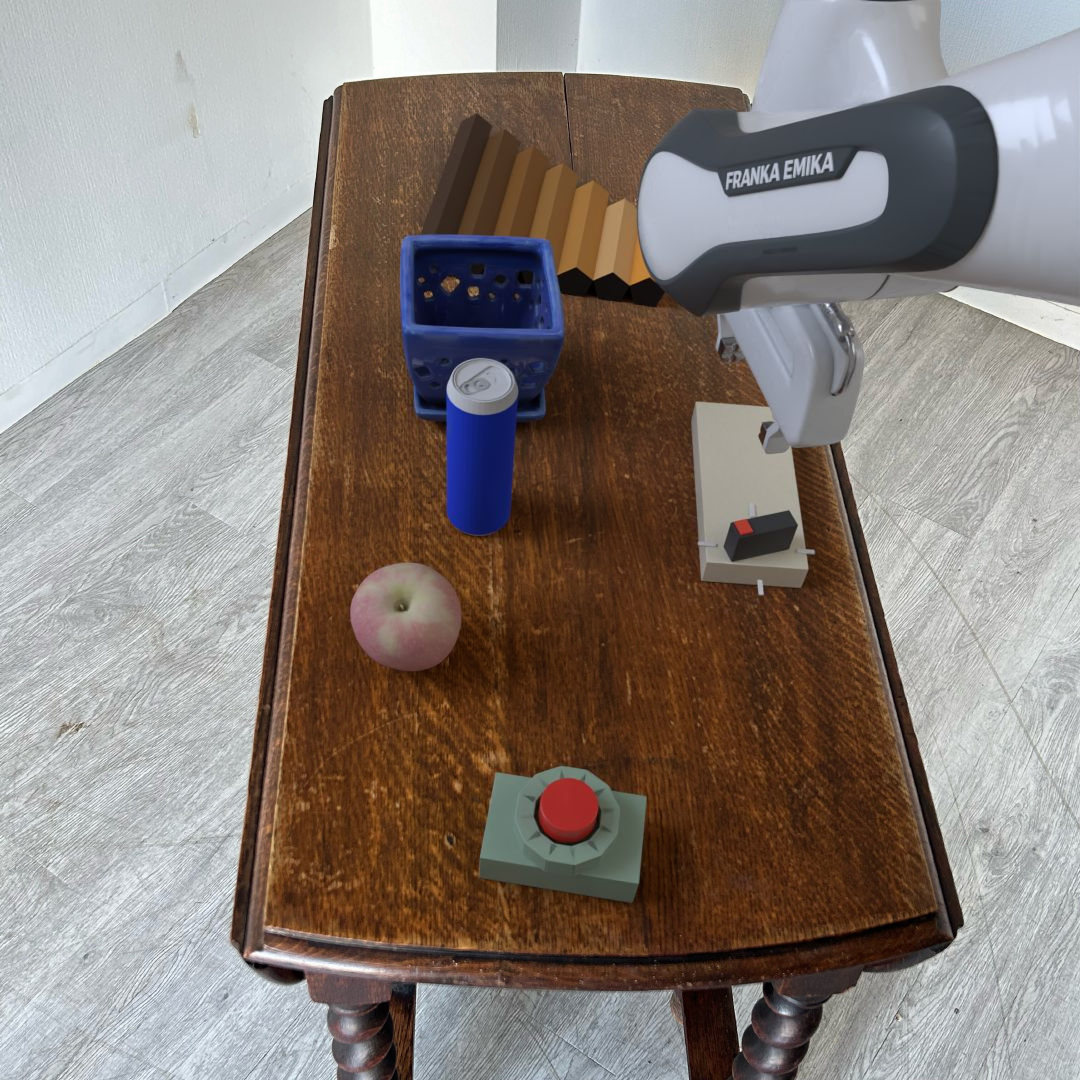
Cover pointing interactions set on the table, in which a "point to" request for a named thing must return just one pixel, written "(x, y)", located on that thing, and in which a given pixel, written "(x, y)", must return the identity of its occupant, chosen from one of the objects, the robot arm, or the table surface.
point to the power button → (568, 810)
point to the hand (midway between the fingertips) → (749, 399)
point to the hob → (742, 494)
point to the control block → (543, 862)
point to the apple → (406, 616)
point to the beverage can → (480, 445)
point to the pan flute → (540, 214)
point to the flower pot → (479, 315)
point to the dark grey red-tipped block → (760, 535)
